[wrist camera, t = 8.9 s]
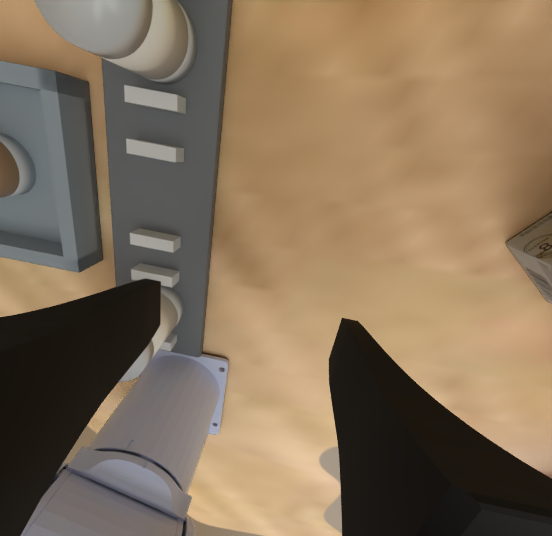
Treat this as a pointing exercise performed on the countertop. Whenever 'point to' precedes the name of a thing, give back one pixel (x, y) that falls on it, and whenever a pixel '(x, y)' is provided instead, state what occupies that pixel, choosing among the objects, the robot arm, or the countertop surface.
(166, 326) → the cylinder
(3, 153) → the marked fuse
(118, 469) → the robot arm
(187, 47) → the ball
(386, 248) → the countertop surface
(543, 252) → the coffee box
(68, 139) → the tray
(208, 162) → the board
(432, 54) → the countertop surface
